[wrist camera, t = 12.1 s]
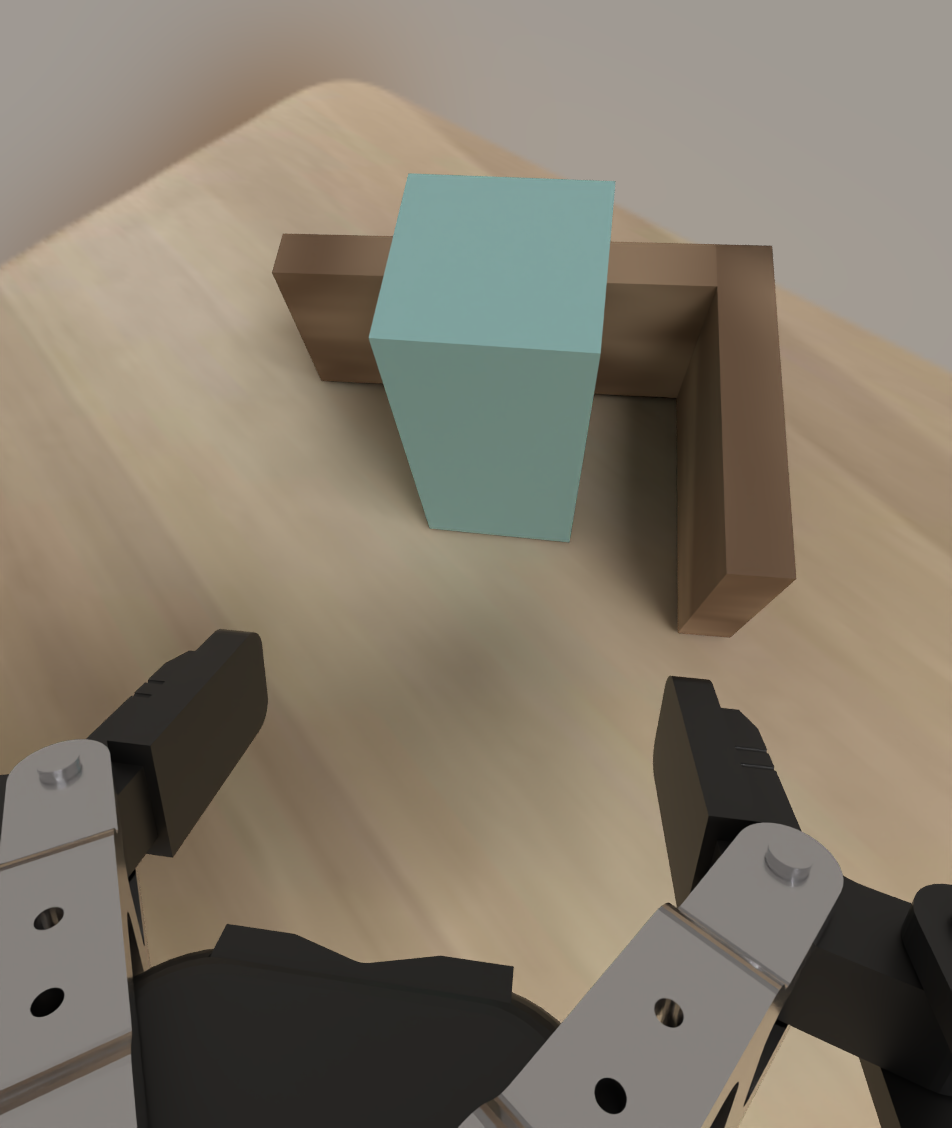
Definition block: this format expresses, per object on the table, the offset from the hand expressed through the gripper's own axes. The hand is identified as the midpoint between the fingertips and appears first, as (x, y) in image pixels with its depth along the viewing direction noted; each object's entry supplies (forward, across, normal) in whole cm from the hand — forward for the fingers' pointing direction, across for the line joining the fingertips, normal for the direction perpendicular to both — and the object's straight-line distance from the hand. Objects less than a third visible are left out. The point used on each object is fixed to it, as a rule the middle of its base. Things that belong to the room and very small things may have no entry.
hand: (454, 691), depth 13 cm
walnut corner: (+10, 0, -2) cm, 11 cm away
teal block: (+10, 0, -2) cm, 11 cm away
